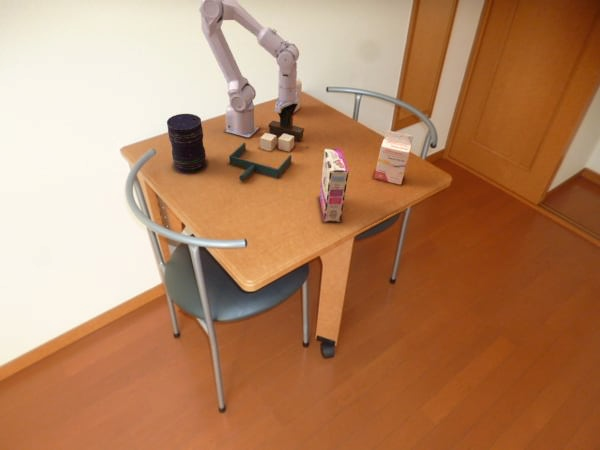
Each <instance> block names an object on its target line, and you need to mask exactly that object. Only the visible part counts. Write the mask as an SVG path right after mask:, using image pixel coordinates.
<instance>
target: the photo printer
mask: <svg viewBox="0 0 600 450" xmlns="http://www.w3.org/2000/svg"><path fill="white" fill-rule="evenodd" d="M302 85H303V84H302V81H301V79H300V78H297V79H296V91H299V92H298V97H297V99H298V100H299V102H298V105H297V107H296V108H295V111H294V113H296V112H297V111H298V110H299V109H300V108H301V106H302Z"/></svg>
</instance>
